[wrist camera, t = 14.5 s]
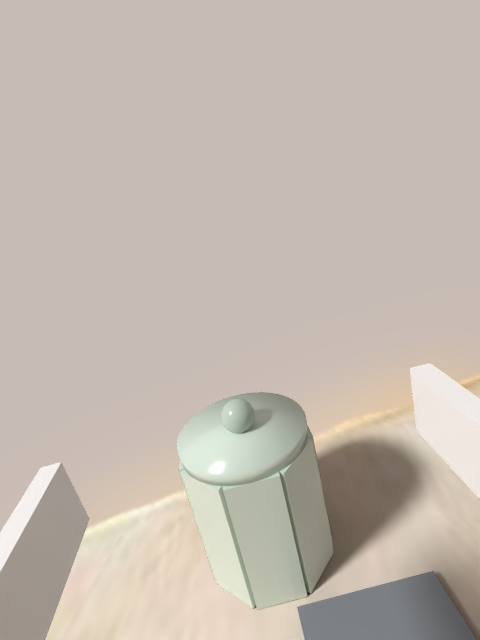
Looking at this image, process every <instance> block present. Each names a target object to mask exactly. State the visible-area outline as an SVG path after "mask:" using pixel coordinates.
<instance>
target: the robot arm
mask: <svg viewBox="0 0 480 640" xmlns="http://www.w3.org/2000/svg"><path fill="white" fill-rule="evenodd" d="M410 375H411V385H412V392H413V393H412V394H413V403H414V411H415V420H416V429H417V432H418V433H419V434H420V435H421V436H422V437H423V438H424V439H425V440H426V441H427V442H428V443H429V445H430V446H431V447H432V448H433V449H434V450H435V451H436V452H437V453H438V454H439V455H440V456H441V458H442V459H443V460H444V461H445V462H446V463H447V464H448V465H449V466H450V467H451V468H452V469H453V471H454V472H455V473H456V474H457V475H458V476H459V477H460V478H461V479H462V480H463V481H464V483H465V484H466V485H467V486H468V487H469V488H470V489H471V490H472V491H473V492H474V493H475V494H476V496H477V497H478V498H479V499H480V399H479V398H478V397H476V396H475V395H474V394H472V393H471V392H469V391H468V390H467V389H465V388H464V387H463V386H461V385H460V384H458V383H457V382H456V381H454V380H453V379H451V378H450V377H449V376H447V375H446V374H444V373H443V372H442V371H440V370H439V369H437V368H436V367H435V366H433V365H432V364H431V363H428V364H424V365H421V366H417V367H413V368H410ZM88 521H89V517H88V515H87V513H86V511H85V509H84V507H83V505H82V503H81V501H80V499H79V497H78V495H77V493H76V491H75V489H74V487H73V485H72V483H71V481H70V479H69V477H68V475H67V473H66V471H65V469H64V467H63V465H62V463H61V462H60V463H56V464H53V465H49V466H45V467H41V468H40V470H39V471H38V473H37V475H36V476H35V478H34V479H33V481H32V483H31V485H30V486H29V487H28V489H27V491H26V492H25V494H24V496H23V497H22V499H21V500H20V502H19V503H18V505H17V507H16V508H15V510H14V512H13V513H12V515H11V516H10V518H9V520H8V521H7V523H6V525H5V526H4V528H3V529H2V531H1V532H0V640H45V639H46V636H47V633H48V630H49V628H50V625H51V622H52V620H53V617H54V614H55V611H56V609H57V606H58V603H59V601H60V598H61V595H62V592H63V590H64V587H65V584H66V581H67V579H68V576H69V573H70V571H71V568H72V565H73V562H74V560H75V557H76V554H77V552H78V549H79V546H80V543H81V541H82V538H83V535H84V533H85V530H86V527H87V524H88Z"/></svg>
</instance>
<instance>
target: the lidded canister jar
mask: <svg viewBox="0 0 480 640" xmlns="http://www.w3.org/2000/svg"><path fill="white" fill-rule="evenodd" d="M177 451H178V454H179V457H180V463H179V472H180V475H181V478H182V481H183V484H184V487H185V490H186V493H187V496H188V500H189V503H190V506H191V509H192V512H193V515H194V518H195V521H196V524H197V527H198V530H199V533H200V536H201V539H202V542H203V545H204V548H205V551H206V555H207V558H208V561H209V564H210V567H211V570H212V573H213V576H214V579H215V580H216V583H217V584H218V585H220V586H221V587H223V588H224V589H225V590H227V591H228V592H230V593H231V594H232V595H234V596H235V597H237V598H238V599H240V600H241V601H242V602H244V603H245V604H247V605H248V606H250V607H251V608H252V609H254V607H255V606H256V607H257V610H259V609H262V608H266V607H270V606H274V605H278V604H281V603H285V602H289V601H293V600H297V599H300V598H304V597H308V596H307V592H308V593H310V594H311V593H312V591H313V589H314V588H315V586H316V584H317V582H318V580H319V579H320V577H321V575H322V573H323V571H324V570H325V568H326V566H327V564H328V562H329V561H330V559H331V557H332V555H333V553H334V551H333V549H334V546H333V541H332V535H331V530H330V525H329V519H328V514H327V509H326V504H325V498H324V493H323V488H322V482H321V477H320V472H319V467H318V461H317V456H316V451H315V445H314V440H313V436H312V434H311V432H310V430H309V427H308V425H307V421H306V416H305V413H304V411H303V409H302V408H301V406H300V405H299V404H298V403H297V402H295V401H294V400H292V399H290V398H288V397H285V396H283V395H279V394H274V393H263V392H261V393H247V394H241V395H236V396H233V397H229V398H226V399H223V400H221V401H218V402H216V403H214V404H212V405H210V406H208V407H206V408H204V409H203V410H201V411H200V412H198V413H197V414H196V415H194V416H193V417H192V418H191V419H190V420H189V421H188V422H187V423H186V425H185V426H184V427H183V428H182V430H181V432H180V434H179V436H178V440H177ZM306 591H307V592H306Z"/></svg>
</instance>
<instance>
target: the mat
mask: <svg viewBox="0 0 480 640" xmlns="http://www.w3.org/2000/svg"><path fill="white" fill-rule="evenodd" d="M297 608H298V612H299V616H300V621H301V625H302V629H303V633H304V638H305V640H477V639H476V638H475V636H474V634H473V633H472V631H471V630H470V628H469V627H468V625H467V623H466V622H465V620H464V619H463V617H462V616H461V614H460V612H459V611H458V609H457V608H456V606H455V605H454V603H453V601H452V600H451V598H450V597H449V595H448V594H447V592H446V590H445V589H444V587H443V586H442V584H441V583H440V581H439V579H438V578H437V576H436V575H435V573H434V572H433V571H432V572H428V573H424V574H420V575H417V576H413V577H409V578H405V579H401V580H398V581H394V582H390V583H386V584H382V585H379V586H375V587H371V588H367V589H363V590H360V591H356V592H352V593H348V594H344V595H341V596H337V597H333V598H329V599H325V600H322V601H318V602H314V603H310V604H306V605H303V606H299V607H297Z"/></svg>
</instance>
